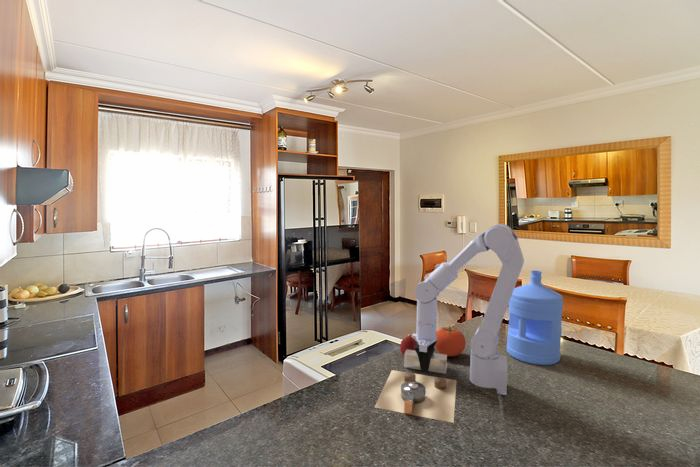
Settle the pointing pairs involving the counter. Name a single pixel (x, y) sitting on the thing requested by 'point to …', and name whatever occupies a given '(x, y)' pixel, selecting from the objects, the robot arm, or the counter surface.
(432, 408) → the wooden board
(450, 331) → the tomato
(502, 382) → the robot arm
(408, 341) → the onion
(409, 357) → the grey long rectangular block
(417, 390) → the grey lidded pan
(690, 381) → the counter surface
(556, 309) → the water jug
